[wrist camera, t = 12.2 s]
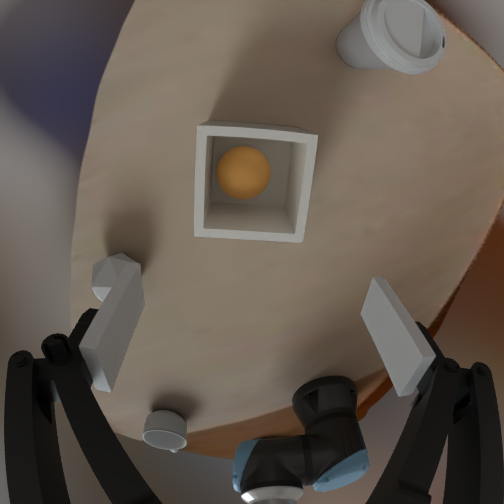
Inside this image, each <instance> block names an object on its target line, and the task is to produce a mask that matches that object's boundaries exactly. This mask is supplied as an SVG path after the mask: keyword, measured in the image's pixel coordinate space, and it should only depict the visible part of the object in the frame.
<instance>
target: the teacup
mask: <svg viewBox="0 0 504 504" xmlns="http://www.w3.org/2000/svg"><path fill="white" fill-rule="evenodd" d="M142 438H143V440H144V441H145V442H146V443H148V444H149V445H151V446H154V447H157V448H160V449H167V450H171V452H177V451H178V449H181V448H183V447H185V446H186V444H187V440H186V439H187V427H186V423H185V421H184V419H183V418H182V417H180V416H179V415H178V414H176V413H175V412H172V411H169V410H158V411H155V412H153V413H151V414H149V415H148V417H147V418H146V421H145V426H144V432H143V435H142Z"/></svg>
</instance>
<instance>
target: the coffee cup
mask: <svg viewBox="0 0 504 504" xmlns="http://www.w3.org/2000/svg"><path fill="white" fill-rule="evenodd" d="M446 43H447V39H446V32H445V29H444V26H443V23H442V21H441V19H440V18H439V16H438V14H437V13H436V12H435V11H434V9H433V8H432V7H431V6H430V5H429V4H428V3H426V2H425V1H424V0H366V1H365V2H364V4H363V6H362V9H361V12H360V13H359V14H358V15H357V16H356V17H355V18H354V19H353V20H352V21H351V22H350V23H349V24H348V25H347V26H346V27H345V28H344V29H343V30H342V31H341V32H340V34H339V35H338V37H337V41H336V47H337V51H338V54H339V55H340V57H341V58H342V60H343V61H344V62H345V63H347V64H348V65H349V66H351V67H353V68H356V69H395V70H397V71H399V72H402V73H405V74H411V75H417V74H422V73H425V72H427V71H429V70H431V69H432V68H434V67H435V66H436V65H437V64H438V62H439V61H440V59H441V57H442V56H443V54H444V52H445V49H446Z"/></svg>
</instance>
